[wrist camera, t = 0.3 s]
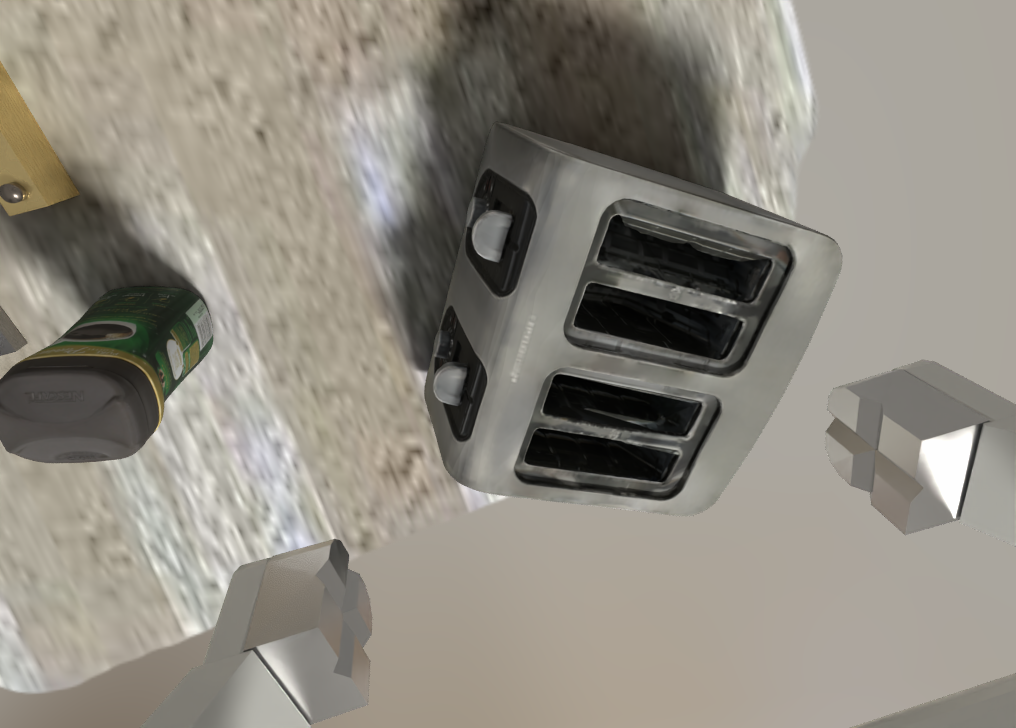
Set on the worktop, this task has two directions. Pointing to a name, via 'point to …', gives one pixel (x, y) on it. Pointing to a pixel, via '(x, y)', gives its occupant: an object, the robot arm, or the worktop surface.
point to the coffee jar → (104, 377)
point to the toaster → (615, 330)
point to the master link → (27, 157)
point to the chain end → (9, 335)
